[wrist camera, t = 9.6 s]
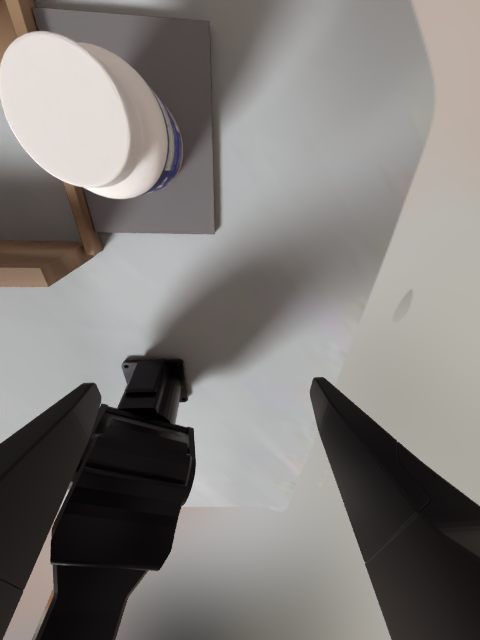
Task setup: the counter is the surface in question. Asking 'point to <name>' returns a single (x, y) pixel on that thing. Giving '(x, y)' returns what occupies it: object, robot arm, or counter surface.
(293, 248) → the counter surface
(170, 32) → the mat
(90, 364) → the counter surface
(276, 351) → the counter surface
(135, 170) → the pill bottle
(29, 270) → the rack
